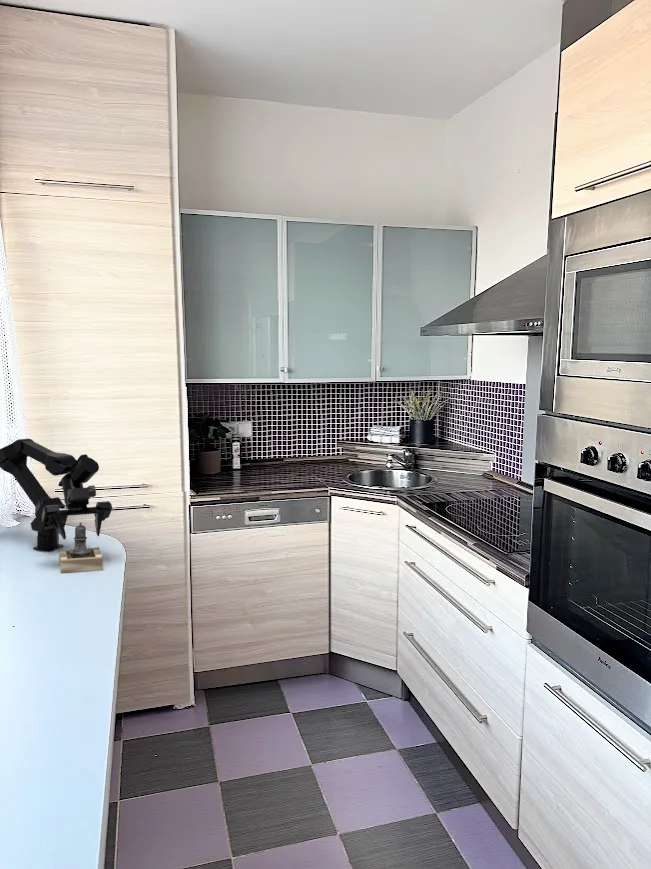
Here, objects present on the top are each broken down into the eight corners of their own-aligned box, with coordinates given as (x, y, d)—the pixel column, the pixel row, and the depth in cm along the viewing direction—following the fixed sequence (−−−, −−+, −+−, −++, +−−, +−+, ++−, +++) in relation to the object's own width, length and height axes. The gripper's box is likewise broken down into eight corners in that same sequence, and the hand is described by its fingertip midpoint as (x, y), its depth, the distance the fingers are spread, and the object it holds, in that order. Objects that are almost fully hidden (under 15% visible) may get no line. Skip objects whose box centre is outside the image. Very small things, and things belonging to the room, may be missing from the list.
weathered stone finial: (83, 567, 187) (84, 525, 186) (64, 564, 188) (65, 523, 187) (94, 561, 193) (95, 521, 192) (76, 558, 194) (77, 519, 193)
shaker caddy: (59, 561, 193) (59, 549, 193) (98, 558, 198) (98, 547, 197) (60, 573, 183) (61, 561, 183) (102, 570, 188) (102, 558, 187)
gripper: (43, 477, 186) (51, 525, 178) (111, 474, 196) (120, 519, 188) (38, 499, 193) (45, 546, 185) (103, 495, 204) (112, 539, 196)
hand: (82, 537), depth 188 cm, fingers open, 9 cm apart
